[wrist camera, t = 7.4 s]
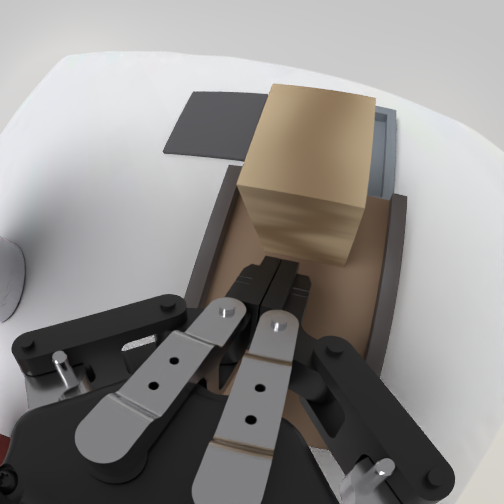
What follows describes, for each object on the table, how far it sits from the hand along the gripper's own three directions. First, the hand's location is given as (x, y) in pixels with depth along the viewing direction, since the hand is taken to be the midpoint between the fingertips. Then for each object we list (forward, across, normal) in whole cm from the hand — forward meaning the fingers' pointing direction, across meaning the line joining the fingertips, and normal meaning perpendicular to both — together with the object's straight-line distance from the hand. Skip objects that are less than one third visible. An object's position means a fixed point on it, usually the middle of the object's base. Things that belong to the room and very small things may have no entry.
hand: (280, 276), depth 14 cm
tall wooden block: (+7, 0, 0) cm, 7 cm away
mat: (+16, +10, -5) cm, 20 cm away
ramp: (+5, 0, +6) cm, 8 cm away
